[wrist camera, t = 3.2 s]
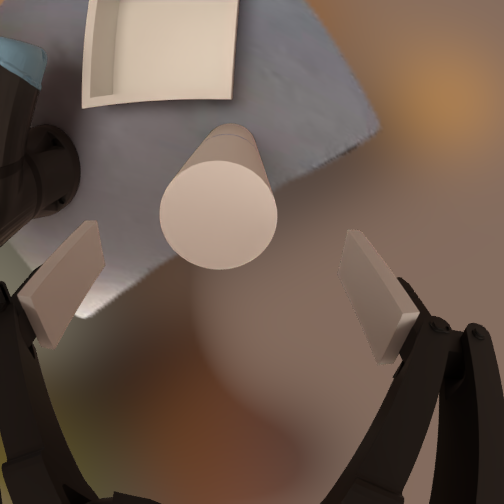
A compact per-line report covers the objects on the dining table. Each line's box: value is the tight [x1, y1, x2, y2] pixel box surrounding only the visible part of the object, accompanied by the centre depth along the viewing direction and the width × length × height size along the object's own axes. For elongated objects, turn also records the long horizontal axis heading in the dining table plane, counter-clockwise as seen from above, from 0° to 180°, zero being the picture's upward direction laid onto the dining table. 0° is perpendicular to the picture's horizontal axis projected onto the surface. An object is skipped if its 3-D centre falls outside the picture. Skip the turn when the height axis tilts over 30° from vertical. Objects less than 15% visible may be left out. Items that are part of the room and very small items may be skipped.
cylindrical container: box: [160, 123, 277, 270], centre depth 29 cm, size 7×7×25 cm
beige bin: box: [82, 0, 240, 109], centre depth 27 cm, size 18×18×8 cm
